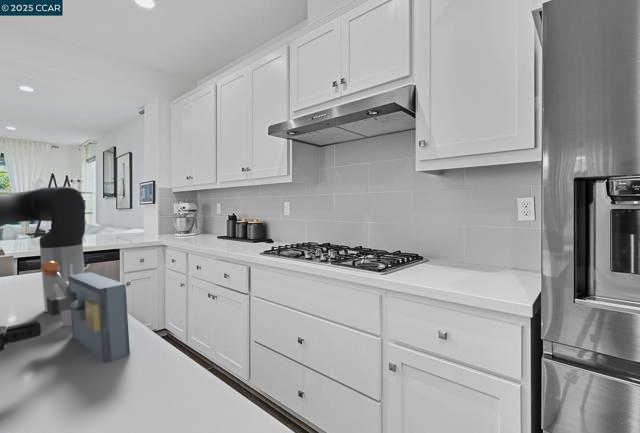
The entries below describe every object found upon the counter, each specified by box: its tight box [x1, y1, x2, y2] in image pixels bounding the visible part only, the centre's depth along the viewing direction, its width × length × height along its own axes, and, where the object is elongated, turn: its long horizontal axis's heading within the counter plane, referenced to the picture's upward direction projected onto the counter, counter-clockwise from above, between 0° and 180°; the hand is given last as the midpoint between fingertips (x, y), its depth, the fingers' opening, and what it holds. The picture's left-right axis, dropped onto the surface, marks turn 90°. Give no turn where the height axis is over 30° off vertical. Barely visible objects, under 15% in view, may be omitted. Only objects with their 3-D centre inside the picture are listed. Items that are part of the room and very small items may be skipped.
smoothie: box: [53, 264, 73, 327], centre depth 78 cm, size 6×6×14 cm
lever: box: [40, 261, 84, 310], centre depth 61 cm, size 3×3×10 cm
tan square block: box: [85, 300, 101, 332], centre depth 60 cm, size 5×4×5 cm
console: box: [68, 271, 131, 364], centre depth 65 cm, size 20×5×13 cm, turn 50°
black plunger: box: [47, 296, 73, 317], centre depth 66 cm, size 4×4×3 cm
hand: (39, 327), depth 53 cm, fingers closed
